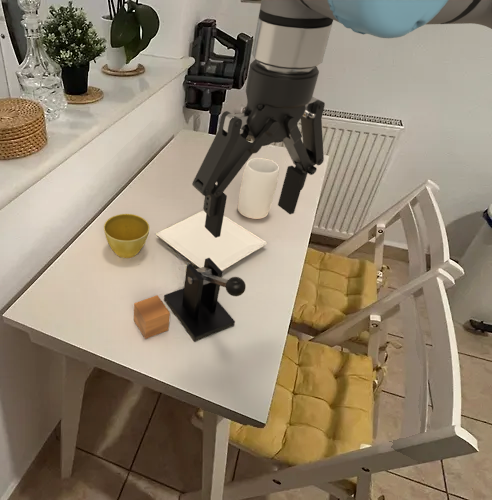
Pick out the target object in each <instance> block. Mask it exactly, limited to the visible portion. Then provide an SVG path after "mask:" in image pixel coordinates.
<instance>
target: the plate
mask: <svg viewBox="0 0 492 500" xmlns="http://www.w3.org/2000/svg"><path fill="white" fill-rule="evenodd" d="M206 214H207V213H206V212H204V209H202V210H201V211H199V212H197V213H195V214H192V215H191V216H189V217H187V218H184V219H183V220H180V221H179V222H177V223H174V224H172V225H170V226H168V227H166V228H164V229H162V230H159V231H158V232H156V233H155V235H156V236H157V237H158V238H159V239H161V241H163V242H164V243H166V244H167V245H168V246H170V247H171V248H173V249H174V250H175V251H176V252H178V253H179V254H180V255H182V256H183V257H184V258H186V260H188V261H189V262H191V264H192V265H195V266H196V267H197V268H198V269H199V268H201V267H204V263H205V259H207V258H210V259H211V260H212V261H213V262H214V263H215V264H216V265H217V266H218V267H219V269H220V270H221V271H222V272H224V271H225V270H227V268H229V267H231V266H233V265H235V264H237V263H238V262H239V261H241V260H243V259H244V258H246V257H248V256H249V255H251V254H253V253H255V252H256V251H258V250H259V249H261V248H263V247H265V246H266V245H268V242H267V241H266V240H264V239H262V238H261V237H259V236H258V235H256V234H254V233H252V232H251V231H250V230H249V229H247V228H244V227H243V226H241V225H240V224H238V223H237V222H235V221H234V220H232V219H230V218H229V217H228V216H225V215H224V216H223V222H222V228H221V234H220V237H217V238H215V237H214V236H213V235H212V234H211V233H210V232H209V231H208V230H207V229H206V228H205V221H206Z"/></svg>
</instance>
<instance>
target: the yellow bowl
mask: <svg viewBox="0 0 492 500" xmlns="http://www.w3.org/2000/svg"><path fill="white" fill-rule="evenodd" d="M103 231H104V235H105V239H106V242H107V243H108V245H109V247H110V248H111V250H112V251H113V252H114V254H115V255H117V256H118V257H119V258H121V259H132V258H134V257H135V256H137V255H138V254H139V253H140V251H141V250H142V249H143V247H144V245H145V244H146V242H147V239H148V236H149V233H150V224H149V222H148V221H147V220H146V219H145V218H144V217H142V216H140V215H137V214H134V213H133V214H132V213H120V214H115V215H113V216H111V217H109V218H108V219H106V221H105V222H104V224H103Z"/></svg>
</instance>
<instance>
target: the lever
mask: <svg viewBox="0 0 492 500" xmlns="http://www.w3.org/2000/svg"><path fill="white" fill-rule="evenodd" d="M195 269H196V270H197V271H198V272H199V274H200V275H201V276H202V277H203V278H204V281H203V285H205V284H208V283H210V282H211V283H214V284H217V285H220V287H223V288H225V290H226V293H227V294H228V295H230V296H231V297H239V296H240V297H241V296H242V295H243V294H244V293H245V292H246V288H247V286H246V282H245V281H244V279H242V278H241V277H239V276H232V277H230V278H228V279H227V278H224V277H222V278H221V277H218V276H215V275H212V270H211V269H209V268H205V267H201V268H199V267H198V268H195Z"/></svg>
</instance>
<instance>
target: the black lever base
mask: <svg viewBox="0 0 492 500" xmlns="http://www.w3.org/2000/svg"><path fill="white" fill-rule="evenodd" d="M204 267H205V268H209V269H211V270H212V275H215V276H218V277H221V278H223V274H224V273H223V272H224V271H221V270H220V269H219V267H218V266H217V265H216V264H215V263H214V262H213V261H212V260H211V259H210V258H207V259H205V263H204ZM196 269H197V268H196V267H194V264H193V263H189V264H187V265H186V268H185V277H184V284H183V288H180V289H177V290H174V291H172V292H169V293H166V294H164V295H163V300H164V302H165V303H166V304H167V306H168V307H169V308H170V310H171V311H172V312H173V314H174V316H175V317H176V318H177V319H178V321H179V322H180V324H181V325H182V327H183V328H184V329H185V331H186V332H187V333H188V335H189V336H190V338H191V339H192V340H193V342H197V341H200V340H202V339H205V338H208V337H210V336H212V335H215V334H217V333H220V332H222V331H225V330H227V329H230V328H232V327H235V323H236V321H235V320H234V318H233V317H232V316H231V315H230V314H229V312H228V310H226V309H225V308H224V306H223V305H222V304H221V303H220V302H219V301H218V298H219V294H220V289H221V286H220V285H217V284H214V283H211V282H210V283H208V284H205V285H203V281H204V278H203V277H202V276H201V275H200V274H199V272H198V271H197V270H196Z"/></svg>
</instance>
